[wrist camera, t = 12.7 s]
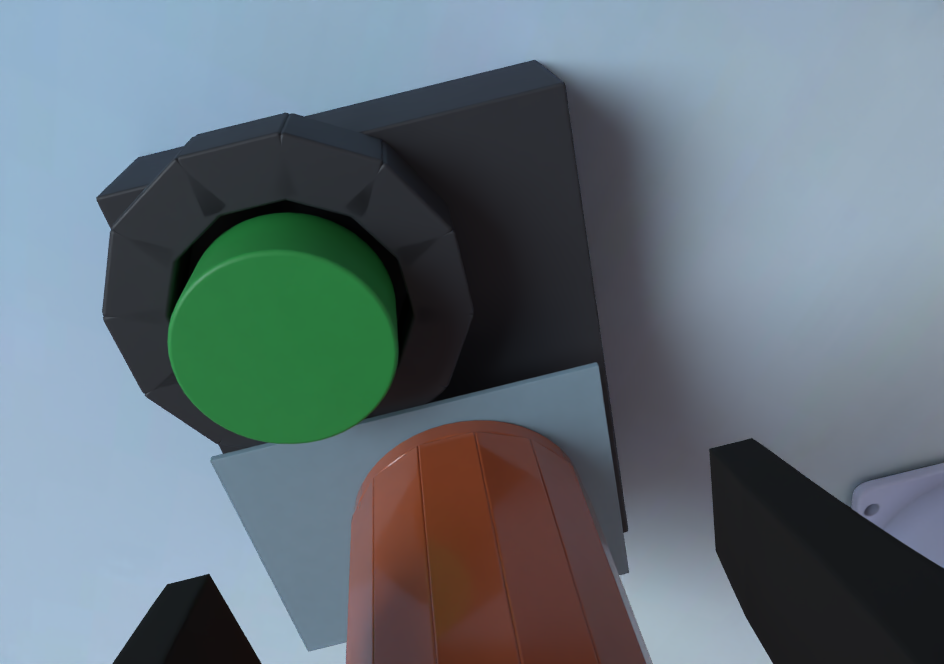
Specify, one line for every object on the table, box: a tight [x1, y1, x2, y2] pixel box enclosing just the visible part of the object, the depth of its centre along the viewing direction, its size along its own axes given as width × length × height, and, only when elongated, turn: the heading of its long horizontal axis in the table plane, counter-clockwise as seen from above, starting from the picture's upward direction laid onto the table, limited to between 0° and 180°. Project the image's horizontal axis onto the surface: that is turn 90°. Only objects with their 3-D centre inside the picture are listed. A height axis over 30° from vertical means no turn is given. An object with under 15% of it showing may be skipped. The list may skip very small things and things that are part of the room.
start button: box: [167, 213, 399, 444], centre depth 14 cm, size 4×4×2 cm
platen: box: [211, 362, 629, 651], centre depth 17 cm, size 6×8×1 cm
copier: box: [96, 60, 628, 533], centre depth 18 cm, size 13×10×4 cm
